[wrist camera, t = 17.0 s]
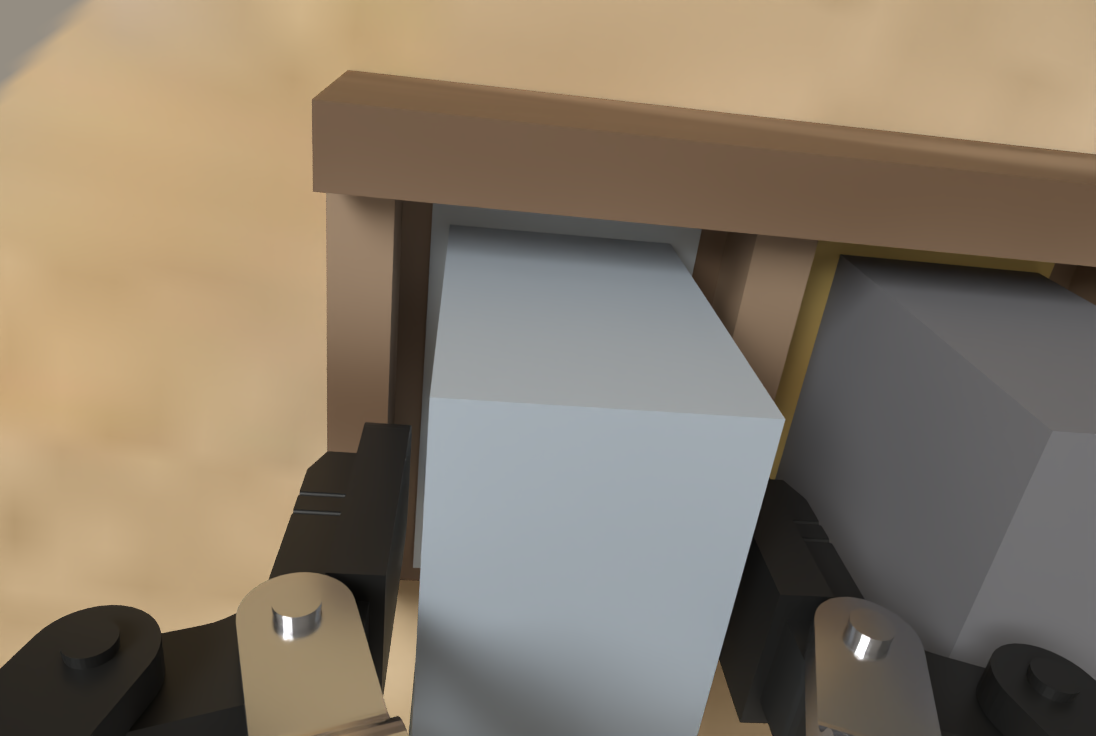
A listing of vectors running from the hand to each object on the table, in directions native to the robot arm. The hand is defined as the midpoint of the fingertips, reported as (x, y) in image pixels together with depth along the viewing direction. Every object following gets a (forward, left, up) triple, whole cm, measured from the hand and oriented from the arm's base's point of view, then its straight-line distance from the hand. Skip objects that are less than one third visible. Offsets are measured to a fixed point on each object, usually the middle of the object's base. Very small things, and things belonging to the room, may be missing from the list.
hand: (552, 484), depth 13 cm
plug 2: (0, -7, -2) cm, 7 cm away
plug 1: (0, 0, -2) cm, 2 cm away
